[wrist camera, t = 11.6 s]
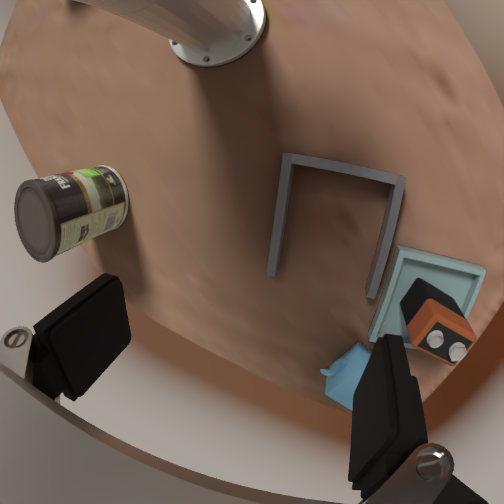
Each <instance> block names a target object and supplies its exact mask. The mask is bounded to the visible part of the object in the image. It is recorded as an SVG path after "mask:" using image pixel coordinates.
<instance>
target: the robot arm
mask: <svg viewBox="0 0 504 504" xmlns="http://www.w3.org/2000/svg"><path fill="white" fill-rule="evenodd" d="M73 1H77V2H81V3H85V4H88V5H91V6H94V7H97V8H100V9H103V10H105V11H108V12H110V13H113V14H116V15H118V16H120V17H123V18H125V19H128V20H130V21H132V22H134V23H137V24H139V25H141V26H143V27H146V28H148V29H150V30H152V31H154V32H156V33H158V34H160V35H162V36H164V37H166V38H168V39H169V43H170V46H171V48H172V50H173V51H174V53H175V54H176V55H177V56H178V57H179V58H181V59H182V60H184V61H186V62H188V63H190V64H193V65H197V66H202V67H213V66H219V65H223V64H226V63H229V62H232V61H234V60H236V59H238V58H239V57H241V56H242V55H244V54H245V53H247V52H248V51H249V50H250V49H251V48H252V47H253V46H254V45H255V44H256V42H257V41H258V40H259V38H260V37H261V34H262V32H263V30H264V27H265V23H266V12H265V8H264V5H263V3H262V1H261V0H73ZM249 39H251V40H250V41H249ZM209 59H210V60H209ZM208 60H209V61H208ZM33 327H34V330H35V333H36V334H34V335H33V334H32V332H31V330H30V329H28V328H27V327H16V328H12V329H10V330H9V331H7V332H6V333H5V334H4V335H3V337H2V339H1V341H0V504H341V503H334V502H327V501H319V500H312V499H305V498H298V497H292V496H287V495H281V494H276V493H271V492H267V491H262V490H258V489H253V488H249V487H245V486H241V485H237V484H233V483H230V482H226V481H223V480H219V479H216V478H213V477H209V476H206V475H204V474H201V473H198V472H194V471H192V470H189V469H186V468H184V467H181V466H178V465H176V464H173V463H170V462H168V461H165V460H163V459H161V458H158V457H156V456H153V455H151V454H149V453H147V452H144V451H142V450H140V449H138V448H136V447H134V446H132V445H130V444H127V443H125V442H123V441H121V440H120V439H118V438H116V437H114V436H112V435H110V434H108V433H106V432H104V431H103V430H101V429H99V428H97V427H95V426H94V425H92V424H90V423H88V422H87V421H85V420H83V419H82V418H80V417H78V416H77V415H75V414H73V413H72V412H70V411H69V410H67V409H66V408H64V407H63V406H61V405H60V394H61V393H62V392H63V394H64V396H66V397H67V398H69V399H71V400H72V401H75V400H76V399H77V398H78V397H81V396H82V395H84V393H85V392H86V391H87V390H88V389H89V388H90V387H91V385H92V384H93V383H94V382H95V381H96V380H97V379H98V377H100V375H101V374H102V373H103V372H104V371H105V370H106V369H107V368H108V366H109V365H110V364H111V363H112V362H113V361H114V360H115V359H116V358H117V356H118V355H119V354H120V353H121V352H122V351H123V350H124V349H125V348H126V347H127V345H128V344H129V343H130V341H131V332H130V326H129V321H128V316H127V311H126V305H125V298H124V292H123V286H122V283H121V282H120V280H119V278H118V277H117V276H114V275H110V274H107V273H104V274H102V275H101V276H99V277H98V278H97V279H95V280H94V281H92V282H91V283H90V284H88V285H87V286H85V287H84V288H83V289H81V290H80V291H79V292H77V293H76V294H74V295H73V296H72V297H70V298H69V299H68V300H66V301H65V302H64V303H62V304H61V305H60V306H58V307H57V308H56V309H55V310H53V311H52V312H51V313H49V314H48V315H47V316H45V317H44V318H43V319H42V320H40V321H39V322H38V323H36V324H35V325H34V326H33ZM453 471H454V460H453V457H452V455H451V453H450V452H449V451H448V450H447V449H446V448H445V447H443V446H442V445H439V444H436V443H428V438H427V431H426V424H425V418H424V412H423V406H422V400H421V395H420V390H419V385H418V381H417V378H416V377H415V376H411V374H410V369H409V364H408V359H407V355H406V351H405V346H404V342H403V338H402V336H401V335H394V334H387V333H386V334H384V336H383V337H378V339H377V341H376V343H375V346H374V348H373V351H372V353H371V355H370V358H369V360H368V363H367V365H366V367H365V369H364V372H363V374H362V376H361V378H360V381H359V383H358V385H357V387H356V389H355V392H354V395H353V410H352V433H351V450H350V462H349V473H348V481H350V482H353V485H352V490H361V498H362V500H361V501H360V502H359V503H358V504H488V503H487V501H485V500H484V499H483V498H482V497H480V496H479V495H478V494H476V493H475V492H474V491H473V490H471V489H470V488H469V487H468V486H466V485H465V484H464V483H462V482H461V481H460V480H459V479H457V478H456V477H455V476H454V475H452V473H453Z"/></svg>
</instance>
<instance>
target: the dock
mask: <svg viewBox="0 0 504 504" xmlns="http://www.w3.org/2000/svg"><path fill="white" fill-rule="evenodd" d="M294 164H297V165H303V166H309V167H315V168H320V169H326V170H331V171H336V172H341V173H346V174H351V175H355V176H360V177H364V178H369V179H373V180H378V181H382V182H386V183H390V184H391V186H390V191H389V196H388V201H387V206H386V211H385V215H384V220H383V224H382V228H381V232H380V236H379V241H378V244H377V248H376V252H375V256H374V260H373V263H372V267H371V270H370V274H369V277H368V281H367V284H366V288H365V289H366V296H367V298H371V299H375V297H376V294H377V291H378V288H379V285H380V281H381V278H382V275H383V272H384V268H385V265H386V261H387V258H388V254H389V251H390V247H391V243H392V239H393V235H394V231H395V227H396V223H397V219H398V215H399V210H400V206H401V201H402V196H403V191H404V186H405V181H406V177H403V176H401V175H397V174H393V173H389V172H385V171H381V170H376V169H372V168H368V167H363V166H359V165H354V164H349V163H344V162H339V161H334V160H329V159H323V158H318V157H312V156H306V155H300V154H294V153H287V152H286V153H283V157H282V165H281V172H280V180H279V187H278V194H277V202H276V209H275V216H274V223H273V230H272V237H271V244H270V251H269V258H268V264H267V271H266V276H270V277H275V275H276V273H277V271H278V269H279V263H280V257H281V251H282V245H283V238H284V232H285V225H286V219H287V212H288V206H289V199H290V192H291V185H292V178H293V171H294Z"/></svg>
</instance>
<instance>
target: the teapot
mask: <svg viewBox="0 0 504 504" xmlns="http://www.w3.org/2000/svg"><path fill="white" fill-rule="evenodd" d="M371 353H372V351H371V350H370V349H368V348H367V347H366V346H364V345H363V344H361V343H360V342H359V341H358V342H357V343H356V344H354V345H353V346H352V347H351V348H350V349H349V350H348V351H346V352H345V353H344V354H343V355H342V356H341V357H339V358H338V359H337V360H336V361H335V362H333V363H332V364H331V365H330V366H328V370H327V369H321V370H320V372H321V373H322V374H323V375H325V376H327V379H326V386H325V395H327V396H328V397H330V398H332V399H333V400H335V401H337V402H338V403H340V404H341V405H343V406H345V407H347V408H348V409H350V410H353V395H354V392H355V389H356V387H357V385H358V383H359V381H360V378H361V376H362V374H363V372H364V369H365V367H366V365H367V363H368V360H369V358H370V355H371Z"/></svg>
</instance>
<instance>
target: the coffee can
mask: <svg viewBox="0 0 504 504" xmlns="http://www.w3.org/2000/svg"><path fill="white" fill-rule="evenodd" d="M128 204H129V199H128V192H127V188H126V185H125V183H124V181H123V179H122V177H121V176H120V174H119V173H118V172H117V171H116V170H115V169H113V168H111V167H109V166H106V165H101V166H97V167H93V168H87V169H82V170H77V171H72V172H66V173H62V174H57V175H52V176H48V177H44V178H40V179H35V180H27V181H24V182H23V183H22V184H21V185H20V187H19V188H18V190H17V193H16V197H15V206H14V211H15V222H16V226H17V230H18V234H19V236H20V239H21V241H22V244H23V245H24V247H25V249H26V250H27V252H28V253H29V254H30V255H31V257H32V258H34V259H35V260H36V261H38V262H43V263H44V262H47V261H49V260H51V259H52V258H53V257H55V256H56V255H59V254H61V253H63V252H65V251H67V250H69V249H71V248H73V247H75V246H78V245H80V244H82V243H84V242H86V241H89V240H91V239H93V238H95V237H97V236H100V235H102V234H104V233H106V232H109V231H111V230H115V229H117V228H118V227H119V226H120V225H122V223H123V222H124V220H125V218H126V215H127V212H128Z"/></svg>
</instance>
